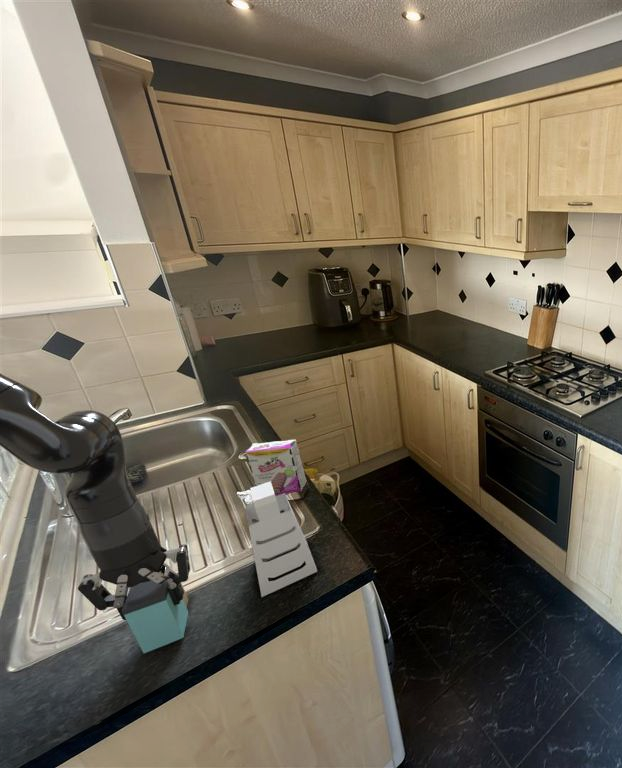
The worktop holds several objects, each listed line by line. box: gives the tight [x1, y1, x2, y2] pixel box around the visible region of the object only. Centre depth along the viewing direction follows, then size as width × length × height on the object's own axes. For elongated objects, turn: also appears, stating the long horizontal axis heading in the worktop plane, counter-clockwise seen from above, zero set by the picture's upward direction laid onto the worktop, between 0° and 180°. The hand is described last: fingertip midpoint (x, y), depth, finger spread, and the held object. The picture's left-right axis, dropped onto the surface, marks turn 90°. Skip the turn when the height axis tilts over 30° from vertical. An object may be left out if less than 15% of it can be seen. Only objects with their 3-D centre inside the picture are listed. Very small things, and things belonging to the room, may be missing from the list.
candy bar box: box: [245, 439, 308, 496], centre depth 109 cm, size 11×5×16 cm, turn 100°
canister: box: [122, 580, 189, 654], centre depth 71 cm, size 6×11×11 cm
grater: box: [244, 481, 318, 598], centre depth 84 cm, size 10×10×20 cm
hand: (156, 608), depth 71 cm, fingers closed on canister, 5 cm apart
